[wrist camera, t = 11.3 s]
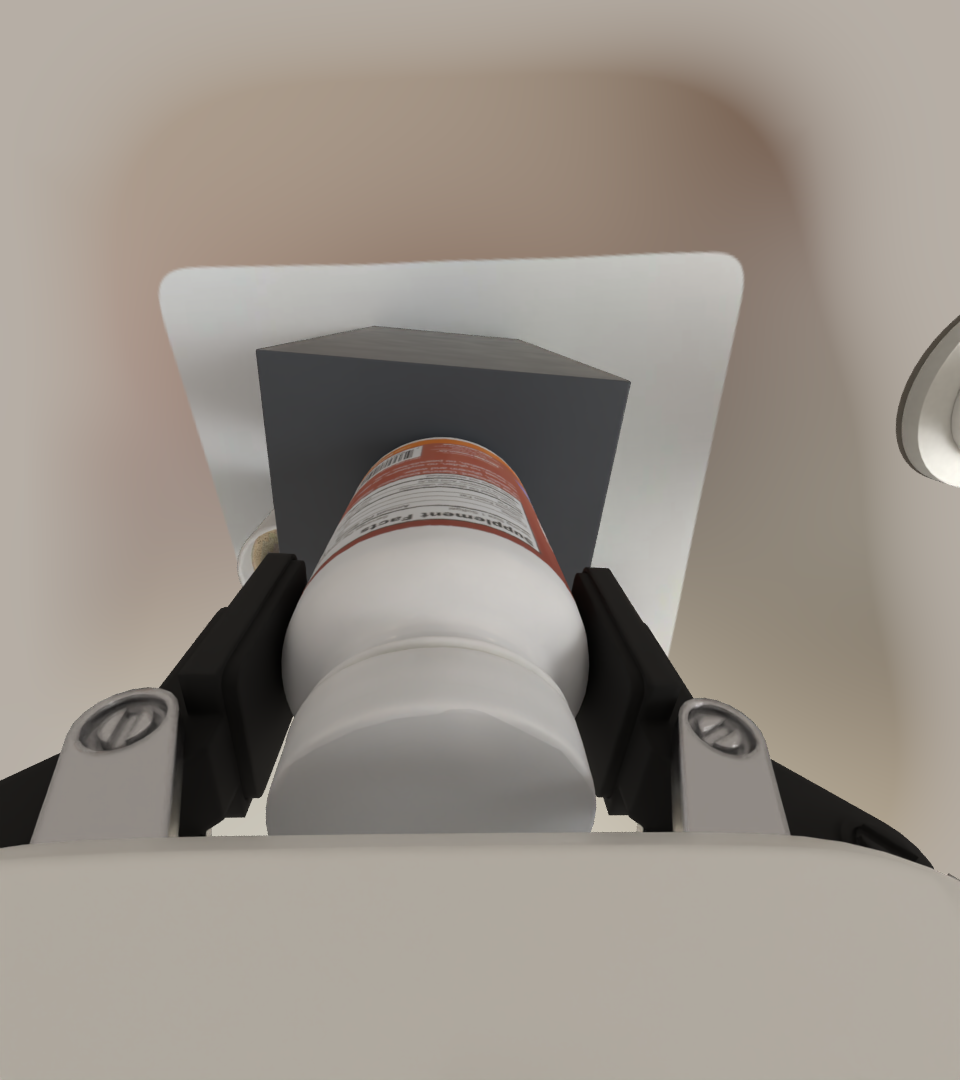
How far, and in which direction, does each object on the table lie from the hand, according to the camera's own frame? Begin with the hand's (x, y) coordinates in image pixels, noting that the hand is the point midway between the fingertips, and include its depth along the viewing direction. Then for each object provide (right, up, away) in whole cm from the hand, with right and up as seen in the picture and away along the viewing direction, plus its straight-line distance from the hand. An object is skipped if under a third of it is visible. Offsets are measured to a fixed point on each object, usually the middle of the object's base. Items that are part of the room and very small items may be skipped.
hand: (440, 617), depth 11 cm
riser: (-2, +14, +29) cm, 33 cm away
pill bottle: (0, +3, +6) cm, 6 cm away
